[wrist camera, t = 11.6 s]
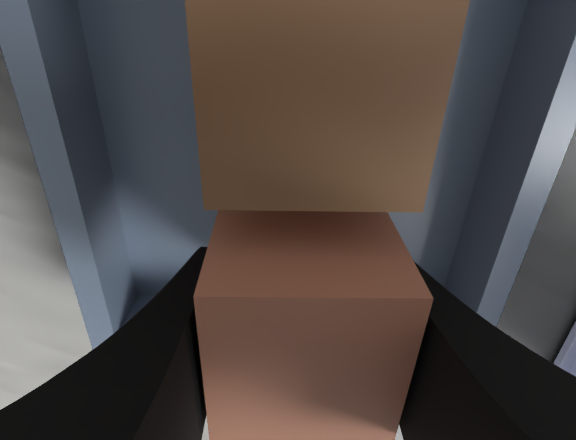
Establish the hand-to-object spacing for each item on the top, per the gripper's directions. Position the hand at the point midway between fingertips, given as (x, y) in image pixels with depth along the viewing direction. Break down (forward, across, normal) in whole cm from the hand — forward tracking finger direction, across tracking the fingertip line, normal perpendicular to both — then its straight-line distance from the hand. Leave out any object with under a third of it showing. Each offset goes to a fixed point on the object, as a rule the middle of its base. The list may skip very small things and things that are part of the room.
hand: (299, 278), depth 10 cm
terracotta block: (+2, 0, 0) cm, 2 cm away
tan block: (+3, 0, -5) cm, 6 cm away
